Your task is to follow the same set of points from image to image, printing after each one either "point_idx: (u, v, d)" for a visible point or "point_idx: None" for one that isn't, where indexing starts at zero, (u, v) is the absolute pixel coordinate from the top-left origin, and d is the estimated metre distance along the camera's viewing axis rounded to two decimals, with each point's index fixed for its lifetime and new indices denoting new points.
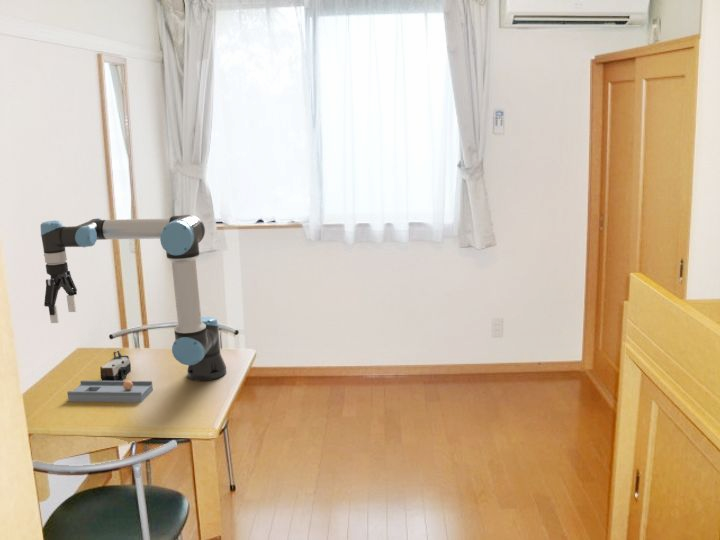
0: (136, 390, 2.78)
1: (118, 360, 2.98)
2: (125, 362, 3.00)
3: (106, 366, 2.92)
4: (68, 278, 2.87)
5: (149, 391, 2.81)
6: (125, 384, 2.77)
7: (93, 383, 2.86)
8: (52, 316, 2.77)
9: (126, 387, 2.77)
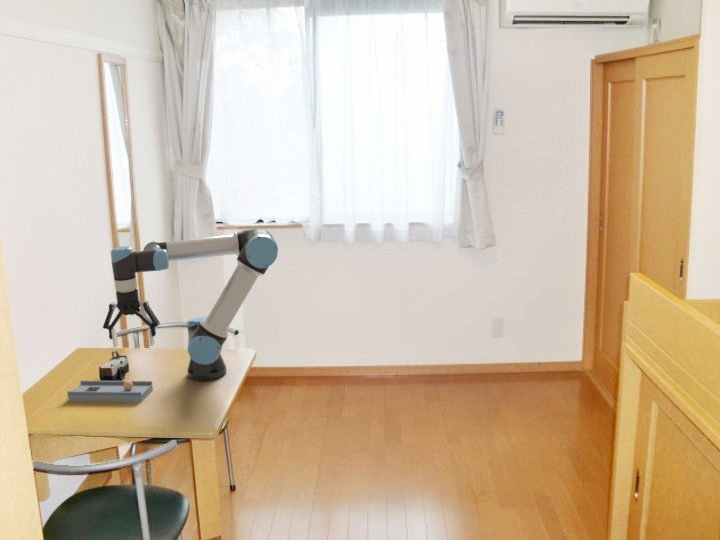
0: (136, 390, 2.78)
1: (116, 360, 2.98)
2: (123, 362, 3.00)
3: (105, 366, 2.92)
4: None
5: (149, 391, 2.81)
6: (125, 384, 2.77)
7: (93, 383, 2.86)
8: None
9: (126, 387, 2.77)
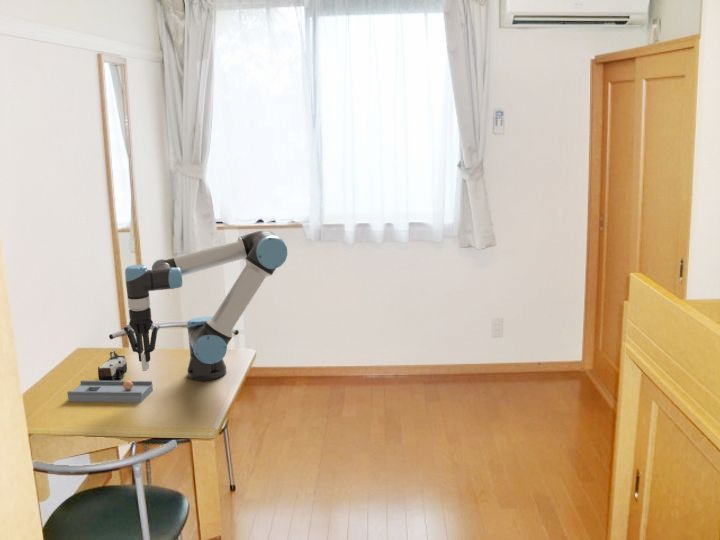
0: (136, 390, 2.78)
1: (115, 360, 2.98)
2: (122, 362, 3.00)
3: (104, 366, 2.92)
4: None
5: (149, 391, 2.81)
6: (125, 384, 2.77)
7: (93, 383, 2.86)
8: None
9: (126, 387, 2.77)
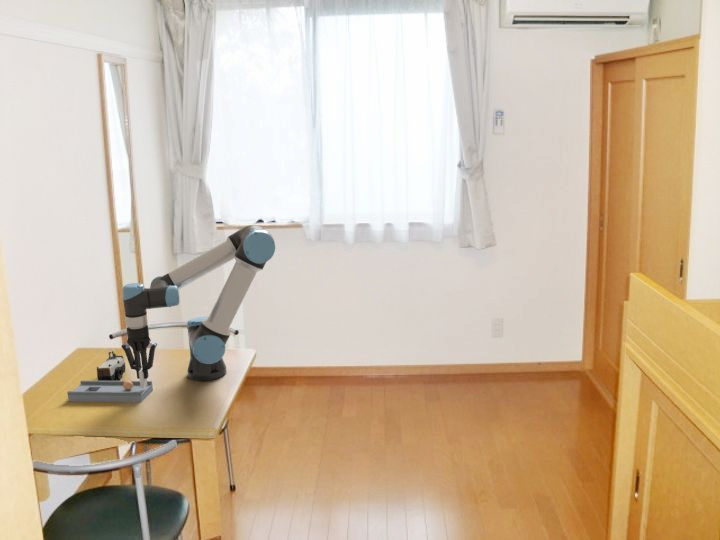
0: (136, 390, 2.78)
1: (113, 360, 2.98)
2: (120, 362, 3.00)
3: (103, 366, 2.92)
4: None
5: (149, 391, 2.81)
6: (125, 384, 2.77)
7: (93, 383, 2.86)
8: None
9: (126, 387, 2.77)
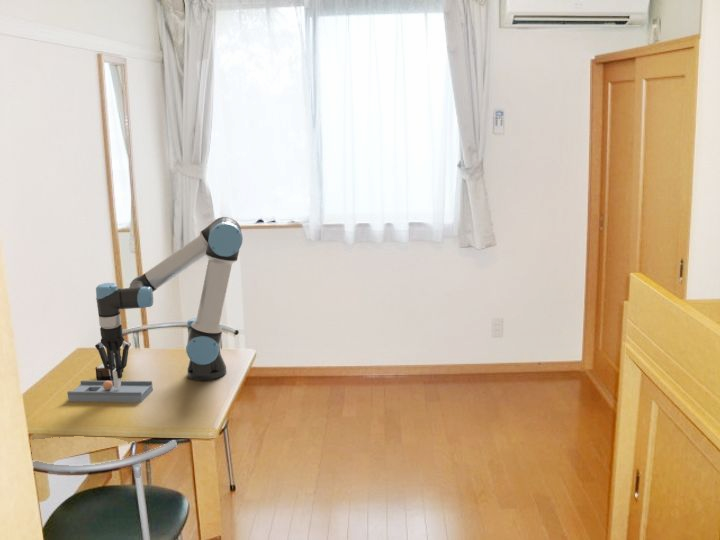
0: (136, 390, 2.78)
1: None
2: None
3: (101, 366, 2.92)
4: None
5: (149, 391, 2.81)
6: (108, 386, 2.78)
7: (93, 383, 2.86)
8: None
9: (105, 387, 2.78)
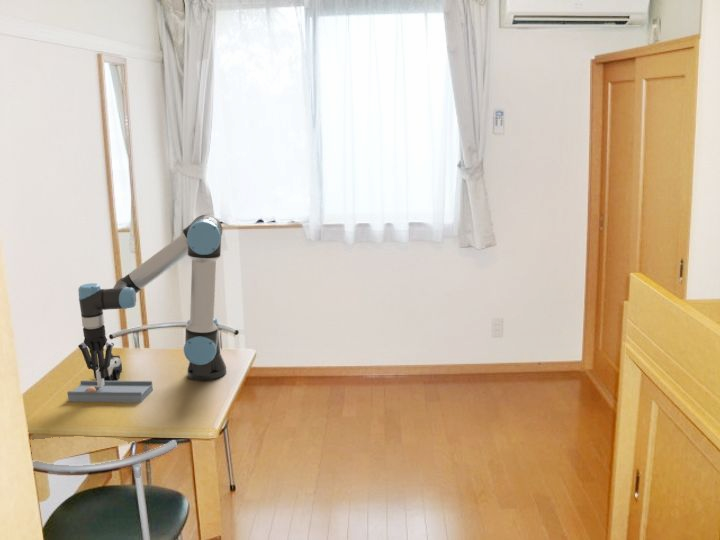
0: (136, 390, 2.78)
1: (111, 360, 2.98)
2: (117, 362, 3.01)
3: None
4: None
5: (149, 391, 2.81)
6: None
7: (93, 383, 2.86)
8: None
9: None
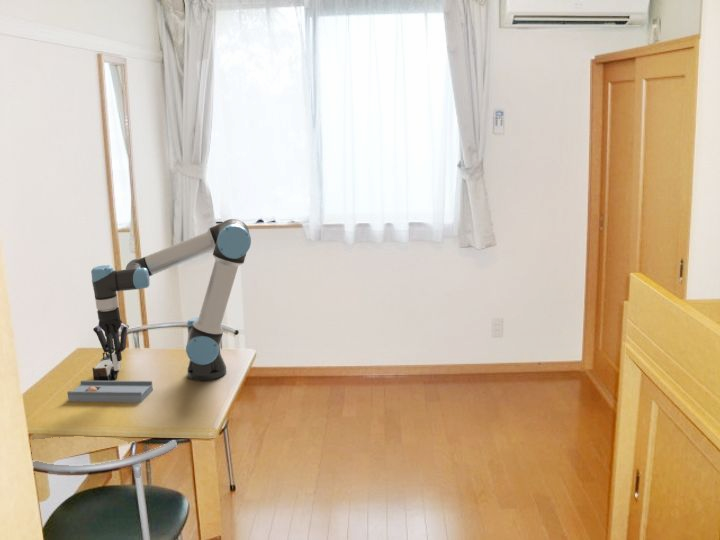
0: (136, 390, 2.78)
1: (108, 360, 2.98)
2: None
3: (98, 366, 2.92)
4: None
5: (149, 391, 2.81)
6: None
7: (93, 383, 2.86)
8: None
9: None
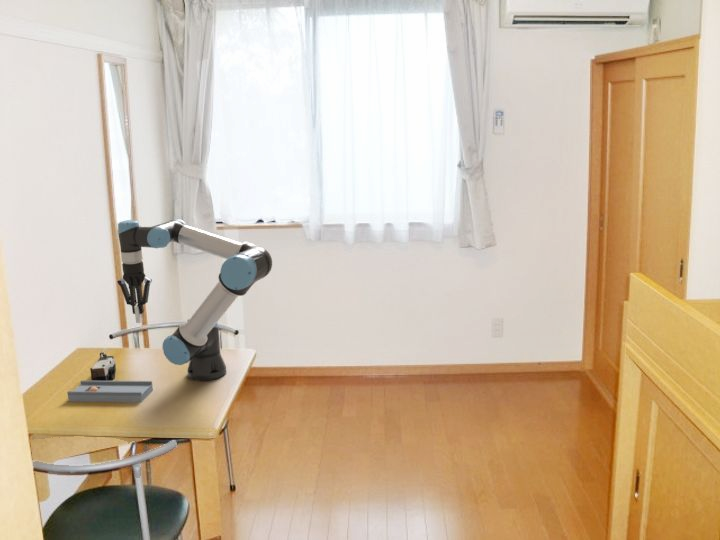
0: (136, 390, 2.78)
1: (105, 360, 2.98)
2: (112, 362, 3.01)
3: (96, 367, 2.92)
4: None
5: (149, 391, 2.81)
6: None
7: (93, 383, 2.86)
8: None
9: None
